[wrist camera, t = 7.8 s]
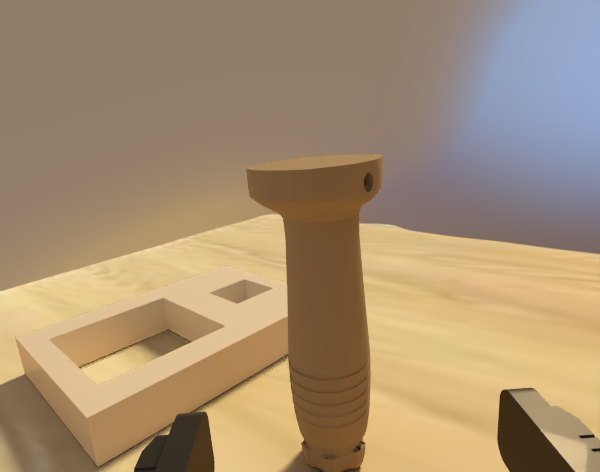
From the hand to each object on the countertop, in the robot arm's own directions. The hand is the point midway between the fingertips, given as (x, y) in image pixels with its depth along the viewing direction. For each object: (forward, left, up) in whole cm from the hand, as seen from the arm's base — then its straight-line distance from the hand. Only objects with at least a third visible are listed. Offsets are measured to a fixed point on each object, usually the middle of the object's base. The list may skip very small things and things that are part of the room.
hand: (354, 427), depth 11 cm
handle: (-6, -6, -9) cm, 12 cm away
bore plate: (-7, -22, -9) cm, 25 cm away
